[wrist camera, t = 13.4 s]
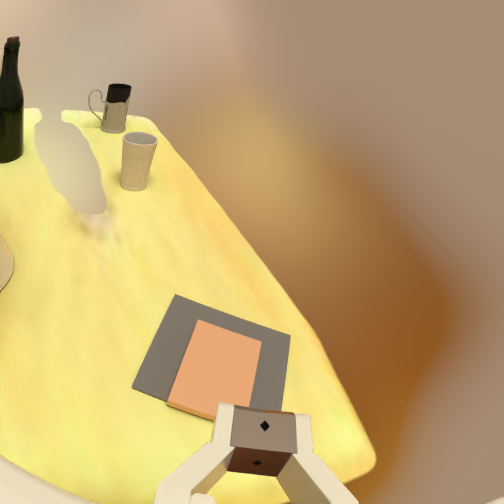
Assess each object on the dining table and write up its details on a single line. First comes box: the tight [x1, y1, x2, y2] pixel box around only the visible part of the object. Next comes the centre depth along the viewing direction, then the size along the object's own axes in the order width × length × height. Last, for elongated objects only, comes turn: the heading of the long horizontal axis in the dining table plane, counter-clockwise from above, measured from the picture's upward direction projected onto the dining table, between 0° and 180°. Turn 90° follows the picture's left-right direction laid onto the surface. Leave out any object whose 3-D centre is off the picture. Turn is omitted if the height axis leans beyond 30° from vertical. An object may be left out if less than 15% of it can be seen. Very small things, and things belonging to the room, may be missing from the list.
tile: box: [167, 319, 262, 421], centre depth 41 cm, size 2×10×14 cm
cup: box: [120, 132, 158, 191], centre depth 67 cm, size 8×8×12 cm
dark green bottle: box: [0, 37, 24, 162], centre depth 54 cm, size 10×10×33 cm
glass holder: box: [88, 84, 131, 133], centre depth 86 cm, size 9×14×15 cm, turn 123°
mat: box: [132, 294, 291, 411], centre depth 44 cm, size 18×20×1 cm
